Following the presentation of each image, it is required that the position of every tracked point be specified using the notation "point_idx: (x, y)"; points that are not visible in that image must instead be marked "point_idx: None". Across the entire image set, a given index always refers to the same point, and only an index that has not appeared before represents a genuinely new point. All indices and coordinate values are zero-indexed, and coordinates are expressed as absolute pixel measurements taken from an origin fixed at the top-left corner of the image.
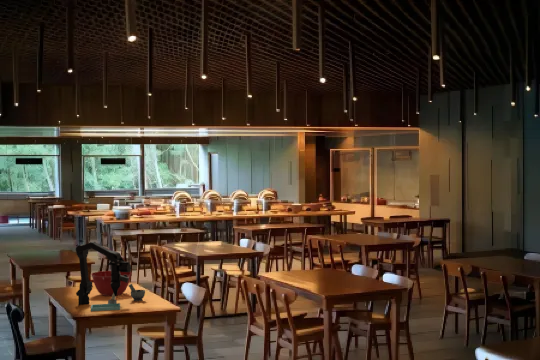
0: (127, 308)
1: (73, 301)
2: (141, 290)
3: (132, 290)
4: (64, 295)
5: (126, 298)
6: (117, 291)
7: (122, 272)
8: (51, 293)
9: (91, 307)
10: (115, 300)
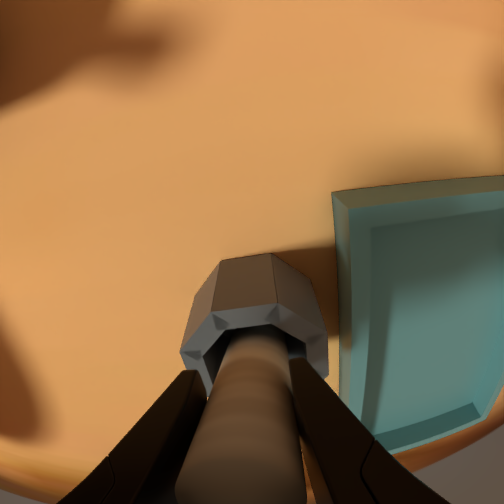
0: (442, 82)
1: None
2: None
3: None
4: (6, 480)
5: None
6: (371, 435)
7: None
8: (4, 490)
9: (464, 427)
10: (296, 316)
